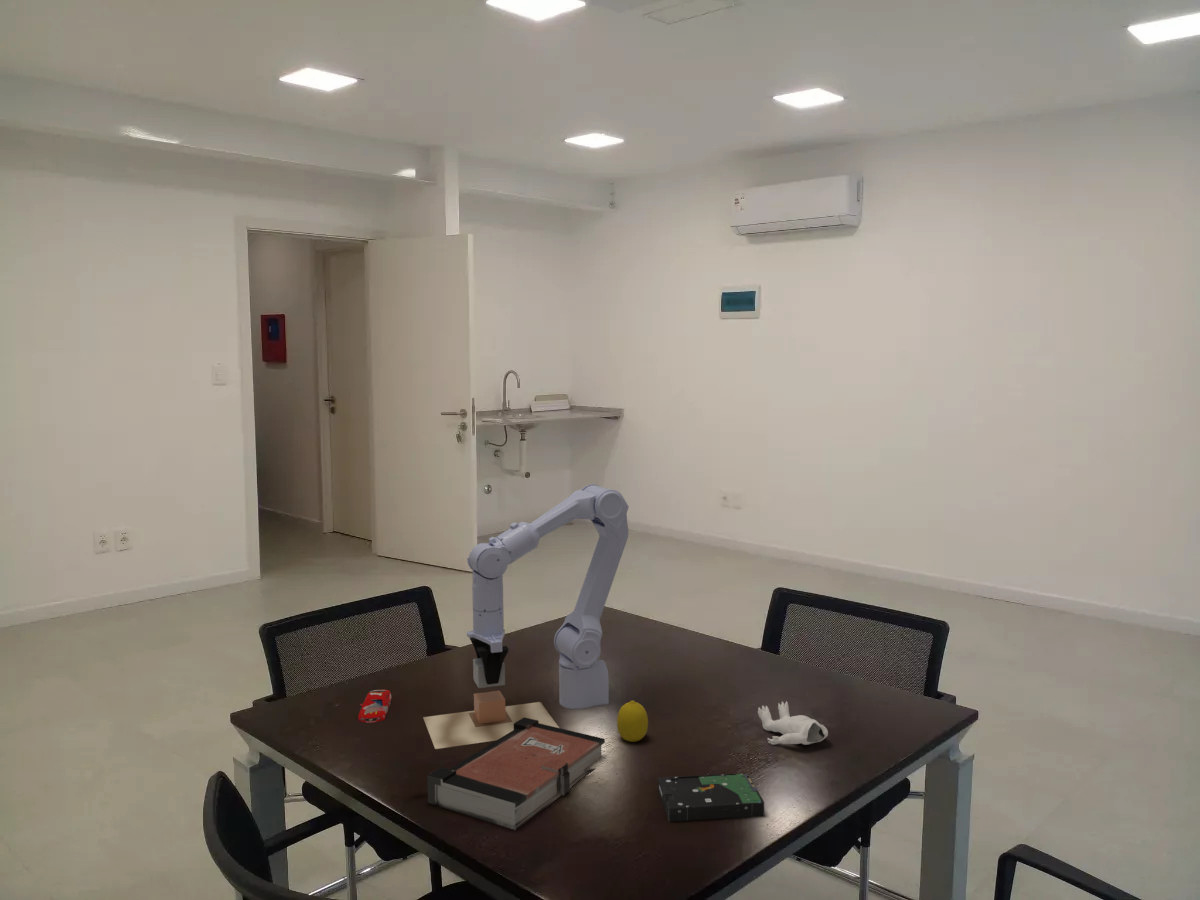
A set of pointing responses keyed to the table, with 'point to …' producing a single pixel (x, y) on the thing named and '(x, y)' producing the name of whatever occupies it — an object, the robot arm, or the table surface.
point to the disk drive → (710, 797)
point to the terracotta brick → (489, 707)
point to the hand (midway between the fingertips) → (489, 678)
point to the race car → (375, 706)
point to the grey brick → (480, 676)
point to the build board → (481, 725)
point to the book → (515, 774)
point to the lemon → (632, 721)
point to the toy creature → (792, 727)
